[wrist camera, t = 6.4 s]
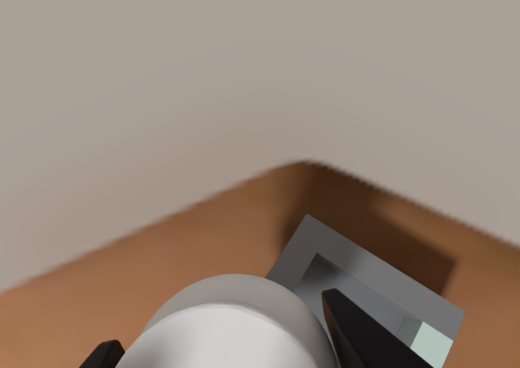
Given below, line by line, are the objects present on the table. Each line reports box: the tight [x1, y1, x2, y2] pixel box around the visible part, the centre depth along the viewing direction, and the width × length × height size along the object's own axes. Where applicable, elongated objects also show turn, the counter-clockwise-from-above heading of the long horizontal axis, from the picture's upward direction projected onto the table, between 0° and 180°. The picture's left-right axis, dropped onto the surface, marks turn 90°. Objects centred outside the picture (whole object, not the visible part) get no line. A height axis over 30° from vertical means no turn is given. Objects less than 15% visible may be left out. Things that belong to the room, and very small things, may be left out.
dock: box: [265, 214, 466, 368], centre depth 18 cm, size 10×10×4 cm
